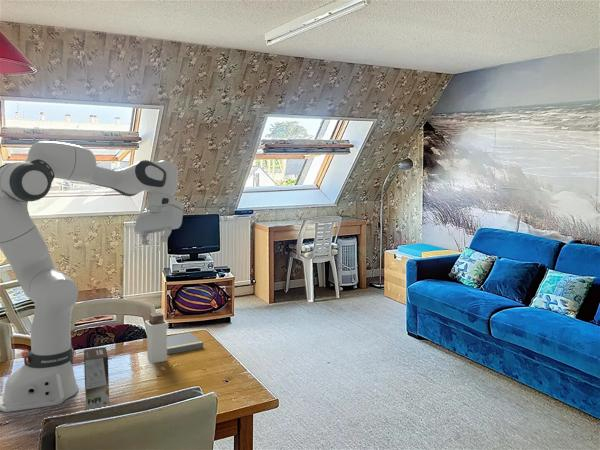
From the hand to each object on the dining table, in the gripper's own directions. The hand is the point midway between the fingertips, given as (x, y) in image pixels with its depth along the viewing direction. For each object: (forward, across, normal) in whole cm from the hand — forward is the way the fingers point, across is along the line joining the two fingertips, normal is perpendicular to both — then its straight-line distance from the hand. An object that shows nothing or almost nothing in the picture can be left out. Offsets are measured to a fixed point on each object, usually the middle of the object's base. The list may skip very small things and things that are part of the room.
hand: (154, 243), depth 177 cm
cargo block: (+24, -12, +17) cm, 32 cm away
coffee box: (+53, -3, -8) cm, 54 cm away
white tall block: (+36, -15, +23) cm, 45 cm away
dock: (+29, -18, +36) cm, 50 cm away
